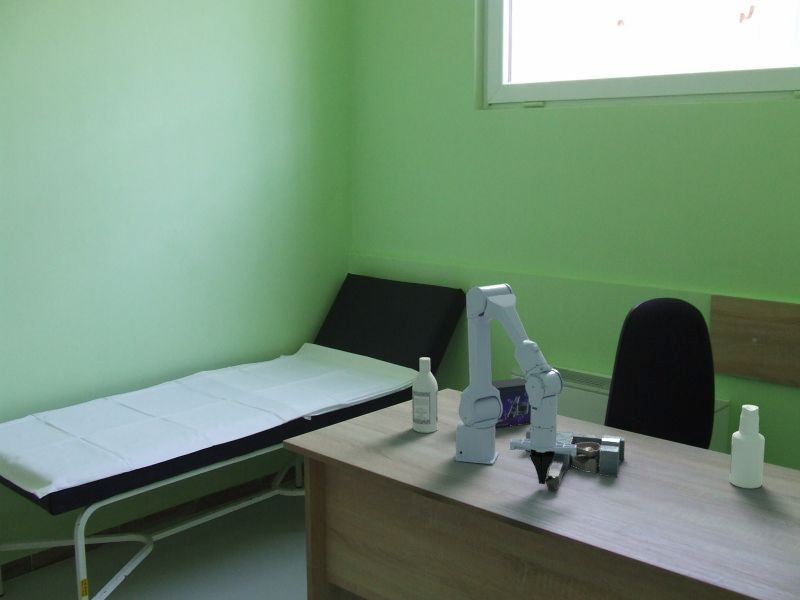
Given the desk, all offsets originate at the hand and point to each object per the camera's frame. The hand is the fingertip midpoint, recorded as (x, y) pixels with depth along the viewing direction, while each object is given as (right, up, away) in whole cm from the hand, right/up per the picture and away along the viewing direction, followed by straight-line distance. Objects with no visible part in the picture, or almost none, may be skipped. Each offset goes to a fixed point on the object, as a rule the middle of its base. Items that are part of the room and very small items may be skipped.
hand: (542, 482), depth 186 cm
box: (-4, +6, +44) cm, 45 cm away
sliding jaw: (+5, 0, +9) cm, 10 cm away
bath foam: (-25, +5, +41) cm, 48 cm away
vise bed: (+10, +1, +16) cm, 19 cm away
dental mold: (+13, +1, +13) cm, 19 cm away
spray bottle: (+46, -1, +2) cm, 46 cm away
